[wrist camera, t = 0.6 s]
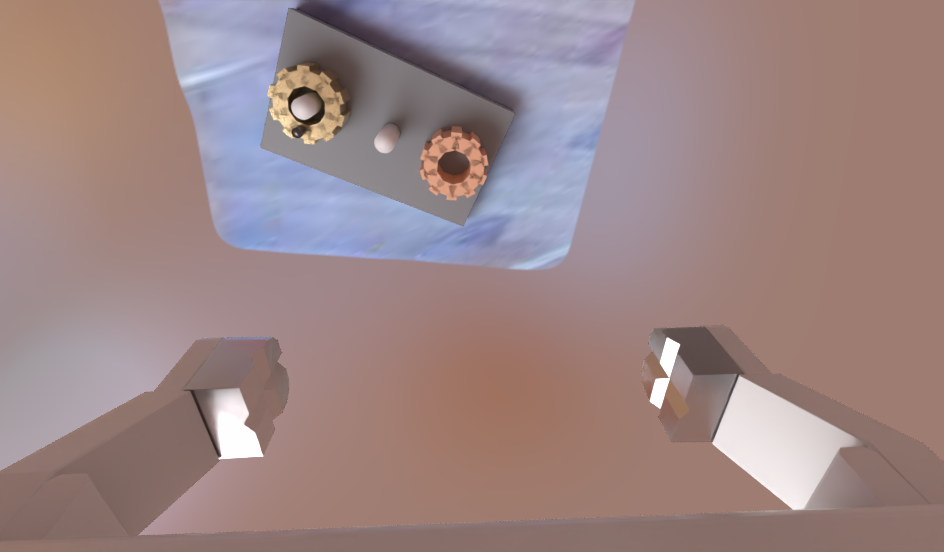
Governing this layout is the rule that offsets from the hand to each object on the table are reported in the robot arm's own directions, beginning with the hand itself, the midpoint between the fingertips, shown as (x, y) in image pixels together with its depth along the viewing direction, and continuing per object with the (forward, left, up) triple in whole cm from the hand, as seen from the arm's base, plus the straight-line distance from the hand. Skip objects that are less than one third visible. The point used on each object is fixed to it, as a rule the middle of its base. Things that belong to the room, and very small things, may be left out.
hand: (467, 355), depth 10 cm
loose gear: (+5, +2, -38) cm, 38 cm away
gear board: (+5, -5, -40) cm, 40 cm away
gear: (+5, -12, -38) cm, 40 cm away
